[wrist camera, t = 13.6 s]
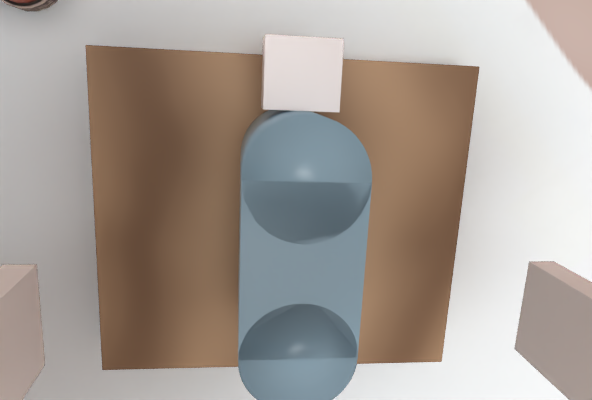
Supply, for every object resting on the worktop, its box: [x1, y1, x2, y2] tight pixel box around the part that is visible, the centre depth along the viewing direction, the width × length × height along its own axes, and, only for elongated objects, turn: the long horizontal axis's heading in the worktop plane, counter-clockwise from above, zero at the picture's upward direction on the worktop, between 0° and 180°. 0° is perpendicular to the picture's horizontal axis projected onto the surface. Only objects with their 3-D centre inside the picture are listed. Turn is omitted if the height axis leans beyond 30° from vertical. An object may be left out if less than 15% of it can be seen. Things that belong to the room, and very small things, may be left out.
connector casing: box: [238, 34, 372, 400], centre depth 18 cm, size 4×12×6 cm, turn 177°
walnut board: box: [86, 45, 479, 370], centre depth 22 cm, size 16×14×2 cm
